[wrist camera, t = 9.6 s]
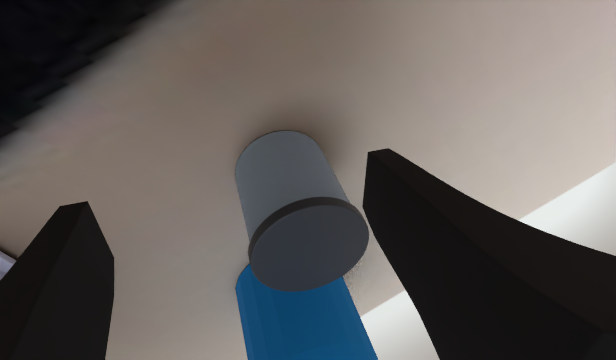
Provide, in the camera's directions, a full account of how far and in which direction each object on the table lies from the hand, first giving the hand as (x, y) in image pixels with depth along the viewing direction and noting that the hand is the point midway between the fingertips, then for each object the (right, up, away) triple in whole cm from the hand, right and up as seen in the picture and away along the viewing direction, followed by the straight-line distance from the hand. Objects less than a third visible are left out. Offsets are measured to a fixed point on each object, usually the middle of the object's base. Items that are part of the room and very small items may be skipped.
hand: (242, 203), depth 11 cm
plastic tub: (0, +1, +12) cm, 12 cm away
